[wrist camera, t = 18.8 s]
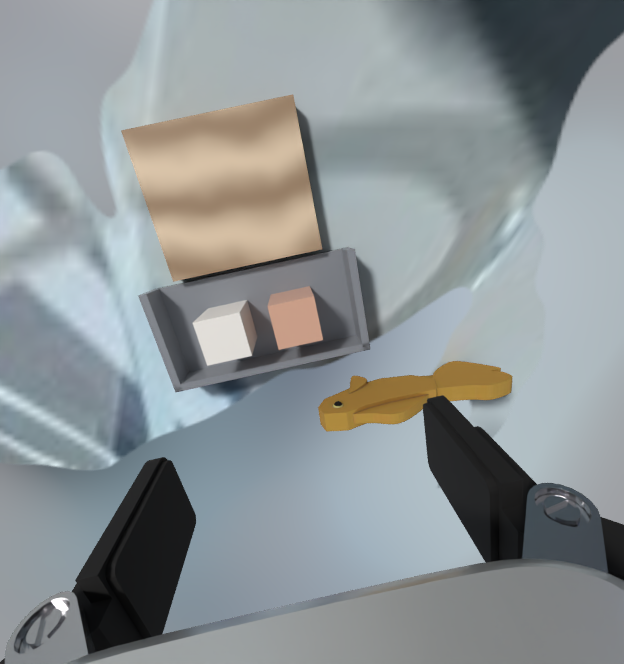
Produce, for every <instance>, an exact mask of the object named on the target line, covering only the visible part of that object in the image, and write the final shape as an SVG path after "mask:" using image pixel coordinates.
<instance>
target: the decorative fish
mask: <svg viewBox="0 0 624 664" xmlns="http://www.w3.org/2000/svg"><path fill="white" fill-rule="evenodd" d="M500 371H501V368H499V367H494V366H488V365H483V364H476V363H469V362H461V361H453V362H448V363H447V364H445V365H443V366H441V367H440V368H438V369H437V370H436V371H435V372H434V374H433V375H431V376H413V375H409V376H399V377H390V378H381V379H377V380H374V381H370V382H367V380H366V379H365V378H363V377H360V376H352V378H351V382H350V388H349V389H347V390H345V391H342V392H340V393H338V394H335V395H333V396H331V397H328V398H326V399H324V400H323V402H322V403H321V405H320V406H319V407H318V408H319V415H320V422H321V425H322V426H323V428H324V429H325V430H326V431H343V430H351V429H353V428H356V427H358V426H361V425H363V424H366V423H381V424H398V423H401V422H405V421H406V420H408V419H410V418H412V417H413V416H414V415H416V414H417V413H418V412H420V411H421V410H422V409H423V404H424V403H427V399H428V398H432V397H437V396H441V395H444V396H445V397H446V398H447V399H448V400H449V401H457V400H473V399H475V400H492V399H496V398H500V397H502V396H505V395H507V394H509V393H511V388H512V376H511V375H510V374H507V373H505V372H500Z"/></svg>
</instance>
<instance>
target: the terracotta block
mask: <svg viewBox="0 0 624 664" xmlns="http://www.w3.org/2000/svg"><path fill="white" fill-rule="evenodd" d="M268 310H269V314H270V318H271V322H272V326H273V330H274V334H275V338H276V341H277V345H278V349H279V350H281V349H285V348H290V347H294V346H299V345H303V344H308V343H312V342H317V341H321V340H323V337H322V332H321V327H320V322H319V317H318V313H317V308H316V303H315V298H314V295H313V293H312V290H311V288H310V286H308V287H303V288H299V289H294V290H290V291H285V292H280V293H276V294H271V295H270V299H269V303H268Z"/></svg>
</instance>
